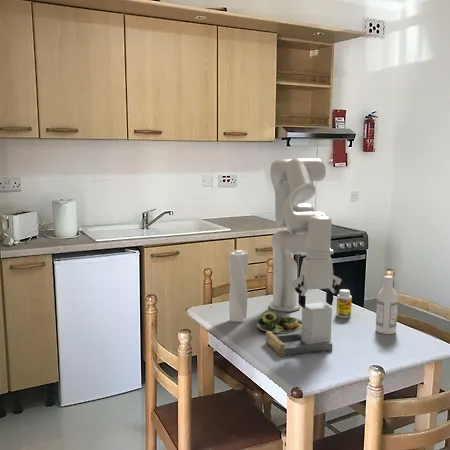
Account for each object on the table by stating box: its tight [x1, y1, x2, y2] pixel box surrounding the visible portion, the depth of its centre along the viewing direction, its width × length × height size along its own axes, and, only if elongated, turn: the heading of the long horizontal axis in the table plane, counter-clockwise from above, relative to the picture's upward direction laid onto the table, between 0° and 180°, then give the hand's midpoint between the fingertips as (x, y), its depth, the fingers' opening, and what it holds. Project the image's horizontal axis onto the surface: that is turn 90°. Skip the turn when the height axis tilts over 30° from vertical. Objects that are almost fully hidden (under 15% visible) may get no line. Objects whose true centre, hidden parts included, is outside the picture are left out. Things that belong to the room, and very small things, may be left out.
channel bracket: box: [265, 331, 333, 358], centre depth 163 cm, size 12×18×4 cm, turn 106°
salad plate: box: [256, 310, 302, 335], centre depth 181 cm, size 19×18×5 cm
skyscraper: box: [227, 246, 250, 323], centre depth 188 cm, size 8×8×28 cm
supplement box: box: [301, 302, 333, 344], centre depth 164 cm, size 7×7×13 cm
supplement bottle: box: [336, 288, 353, 319], centre depth 194 cm, size 6×6×10 cm
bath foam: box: [375, 275, 399, 335], centre depth 177 cm, size 7×7×20 cm
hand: (315, 305), depth 164 cm, fingers open, 9 cm apart
